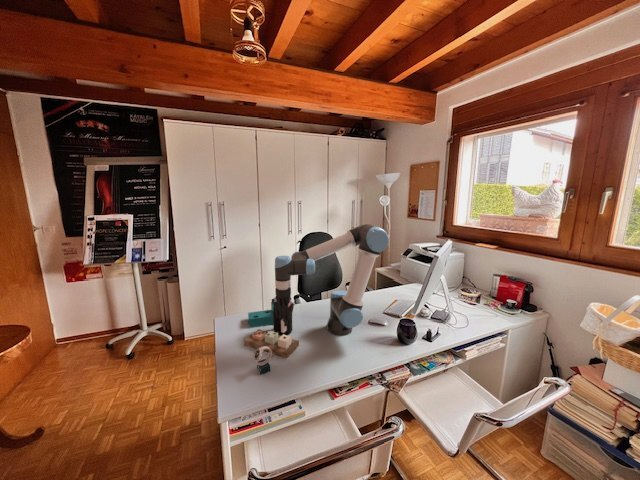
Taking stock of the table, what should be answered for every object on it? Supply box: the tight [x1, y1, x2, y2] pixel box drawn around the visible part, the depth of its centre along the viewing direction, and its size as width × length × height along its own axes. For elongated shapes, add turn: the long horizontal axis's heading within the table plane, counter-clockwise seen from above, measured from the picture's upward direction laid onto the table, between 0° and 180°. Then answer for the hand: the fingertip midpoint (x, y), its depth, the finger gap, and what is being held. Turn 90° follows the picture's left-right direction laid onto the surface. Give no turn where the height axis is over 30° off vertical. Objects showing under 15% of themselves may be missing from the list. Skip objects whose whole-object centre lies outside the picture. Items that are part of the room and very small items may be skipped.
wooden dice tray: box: [243, 329, 300, 360], centre depth 137 cm, size 26×12×3 cm, turn 65°
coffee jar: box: [272, 303, 293, 336], centre depth 149 cm, size 11×11×18 cm
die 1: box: [251, 329, 266, 341], centre depth 140 cm, size 5×5×4 cm
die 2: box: [265, 330, 278, 345], centre depth 137 cm, size 5×5×4 cm
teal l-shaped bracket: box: [247, 301, 274, 328], centre depth 162 cm, size 18×11×10 cm, turn 108°
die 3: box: [278, 334, 292, 349], centre depth 133 cm, size 5×5×4 cm
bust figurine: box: [253, 346, 273, 375], centre depth 118 cm, size 6×8×11 cm
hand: (284, 331), depth 133 cm, fingers closed
